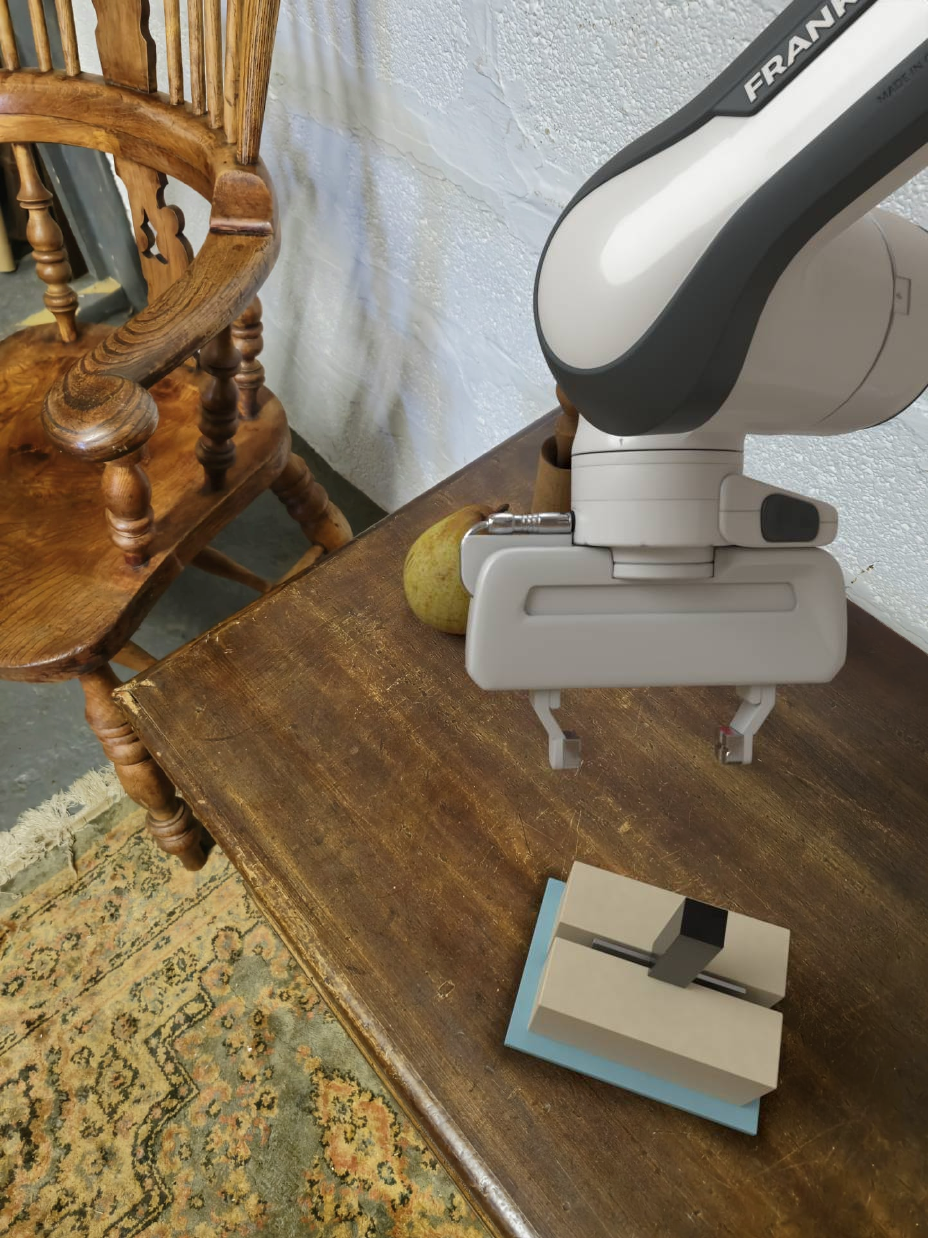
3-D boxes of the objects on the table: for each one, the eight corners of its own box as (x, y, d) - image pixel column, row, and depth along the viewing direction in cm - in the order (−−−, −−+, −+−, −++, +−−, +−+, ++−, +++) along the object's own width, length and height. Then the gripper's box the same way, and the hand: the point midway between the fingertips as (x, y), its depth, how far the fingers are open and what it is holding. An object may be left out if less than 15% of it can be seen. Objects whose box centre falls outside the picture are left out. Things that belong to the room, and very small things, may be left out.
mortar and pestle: (539, 594, 68) (571, 414, 53) (493, 543, 71) (512, 361, 57) (603, 562, 70) (650, 381, 56) (556, 514, 73) (589, 331, 59)
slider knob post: (716, 1002, 49) (794, 931, 38) (711, 1034, 48) (791, 970, 37) (581, 956, 50) (622, 875, 40) (574, 987, 49) (614, 912, 39)
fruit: (382, 602, 67) (375, 491, 57) (469, 549, 70) (477, 437, 61) (452, 673, 63) (457, 567, 53) (541, 613, 66) (560, 504, 57)
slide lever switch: (771, 953, 51) (811, 918, 46) (753, 1136, 45) (796, 1119, 40) (548, 880, 53) (561, 838, 48) (503, 1045, 48) (513, 1017, 42)
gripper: (462, 513, 41) (464, 788, 43) (870, 510, 42) (855, 777, 44) (455, 512, 47) (457, 752, 49) (810, 509, 49) (800, 743, 50)
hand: (649, 764), depth 47 cm, fingers open, 8 cm apart
